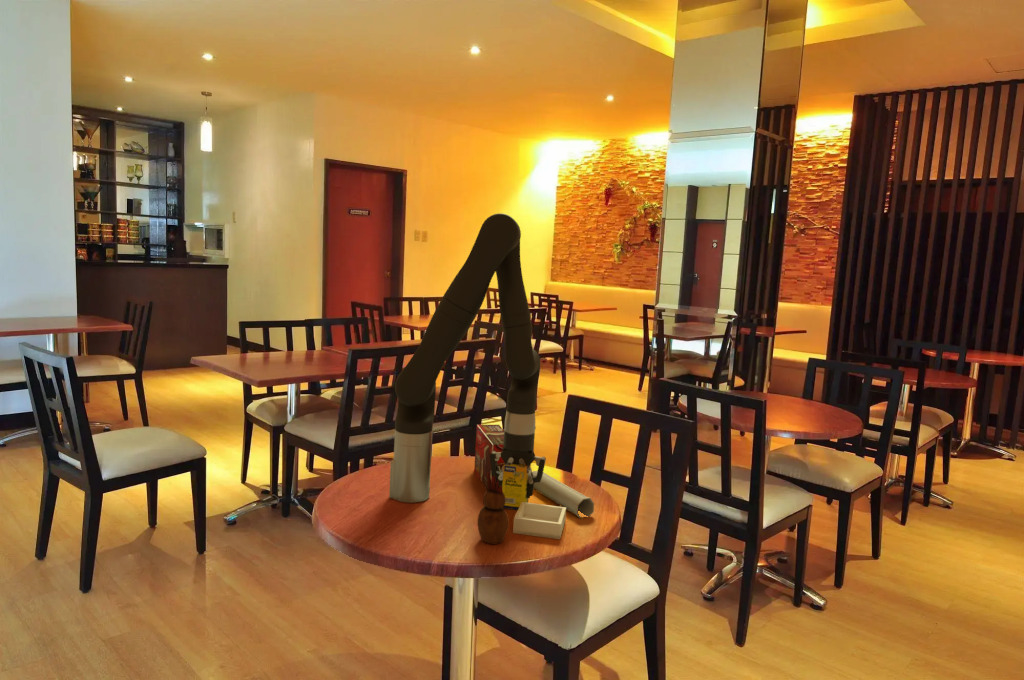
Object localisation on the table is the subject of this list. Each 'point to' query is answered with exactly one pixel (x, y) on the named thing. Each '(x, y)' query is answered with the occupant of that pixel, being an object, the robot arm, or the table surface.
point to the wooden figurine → (493, 514)
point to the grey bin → (539, 520)
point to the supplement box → (515, 485)
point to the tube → (564, 495)
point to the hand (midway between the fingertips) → (515, 495)
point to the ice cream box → (488, 450)
